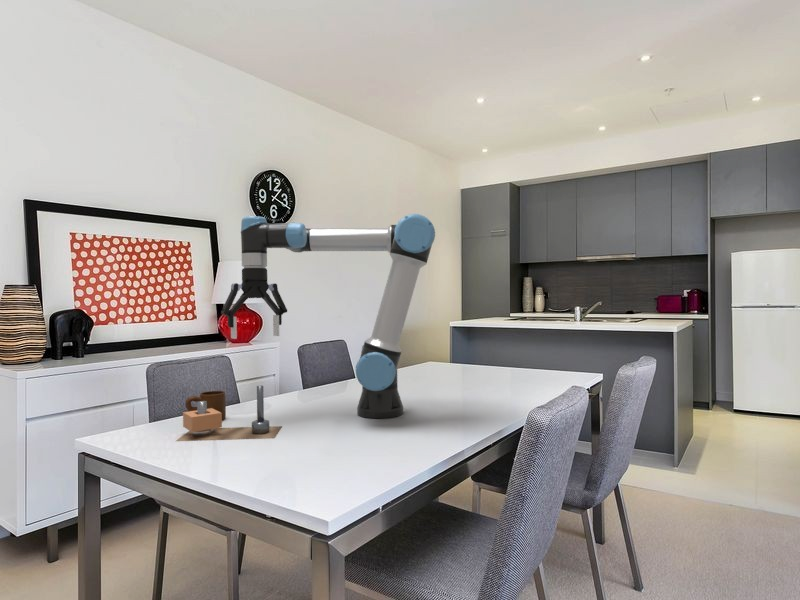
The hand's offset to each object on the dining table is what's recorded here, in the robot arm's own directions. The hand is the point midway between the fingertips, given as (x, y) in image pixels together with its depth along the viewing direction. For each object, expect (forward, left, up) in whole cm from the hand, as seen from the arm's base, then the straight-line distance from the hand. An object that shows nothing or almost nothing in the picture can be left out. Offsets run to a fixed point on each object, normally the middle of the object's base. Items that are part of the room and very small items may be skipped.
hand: (255, 337), depth 159 cm
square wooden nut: (+12, +14, -24) cm, 30 cm away
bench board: (+4, +14, -27) cm, 30 cm away
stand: (-4, +14, -26) cm, 30 cm away
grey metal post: (+12, +14, -26) cm, 32 cm away
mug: (+16, -2, -27) cm, 31 cm away
